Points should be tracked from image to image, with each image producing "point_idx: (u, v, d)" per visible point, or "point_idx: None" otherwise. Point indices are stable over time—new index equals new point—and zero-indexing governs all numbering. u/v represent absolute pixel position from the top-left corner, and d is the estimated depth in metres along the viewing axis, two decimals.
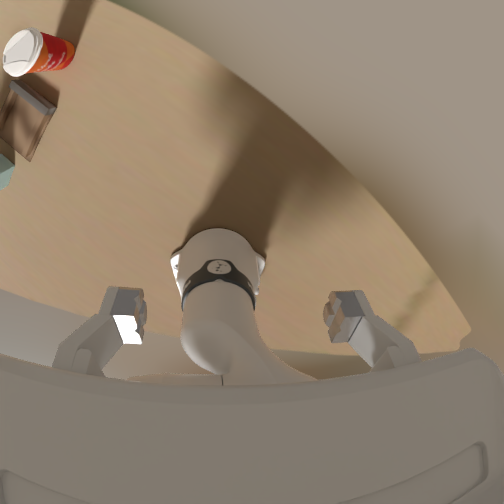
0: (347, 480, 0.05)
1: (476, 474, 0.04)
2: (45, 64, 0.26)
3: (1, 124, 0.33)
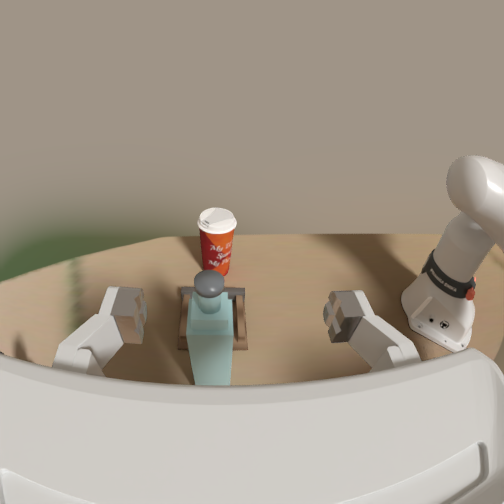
0: (347, 480, 0.05)
1: (476, 474, 0.04)
2: (232, 241, 0.58)
3: None
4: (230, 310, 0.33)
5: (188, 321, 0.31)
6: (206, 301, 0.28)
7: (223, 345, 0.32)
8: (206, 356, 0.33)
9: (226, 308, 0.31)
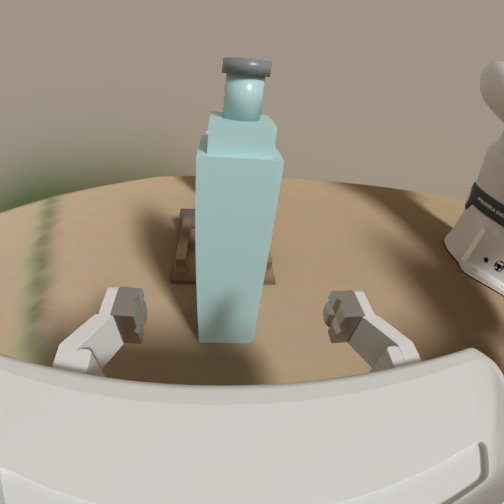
0: (347, 480, 0.05)
1: (476, 474, 0.04)
2: None
3: (186, 254, 0.34)
4: None
5: (201, 148, 0.17)
6: (241, 88, 0.15)
7: (263, 192, 0.18)
8: (227, 227, 0.19)
9: (270, 121, 0.17)
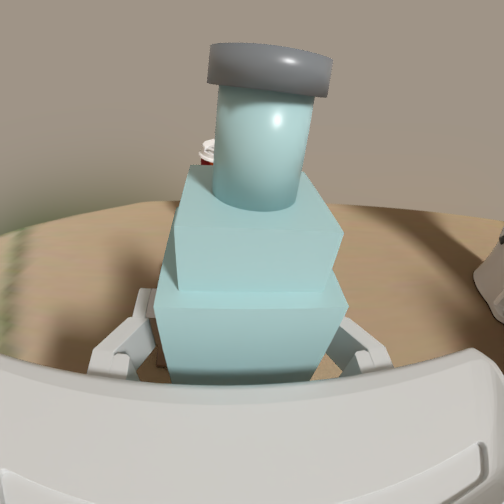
0: (347, 480, 0.05)
1: (476, 474, 0.04)
2: None
3: None
4: None
5: (168, 261, 0.08)
6: (257, 126, 0.06)
7: (297, 352, 0.09)
8: None
9: (319, 201, 0.08)
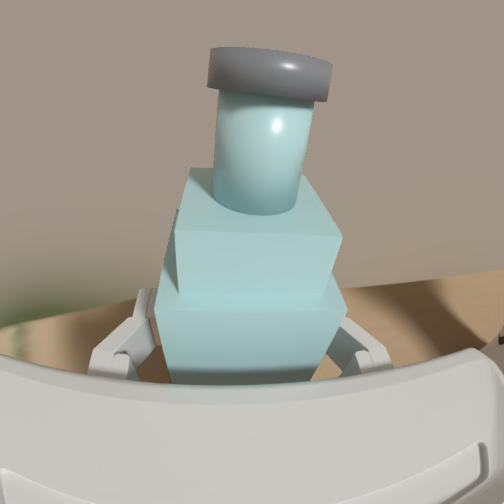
0: (347, 480, 0.05)
1: (476, 474, 0.04)
2: None
3: None
4: None
5: (168, 264, 0.08)
6: (257, 131, 0.06)
7: (296, 354, 0.09)
8: None
9: (318, 204, 0.08)
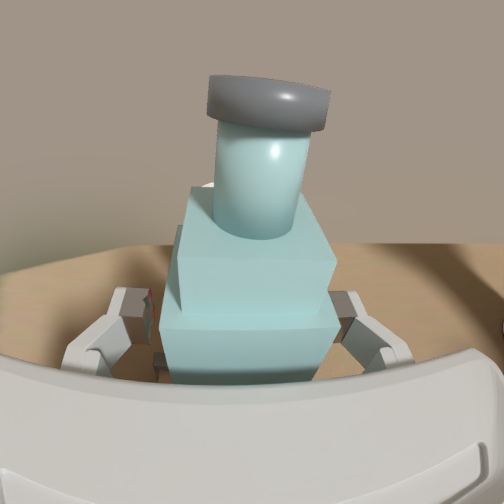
0: (346, 480, 0.05)
1: (476, 474, 0.04)
2: None
3: None
4: None
5: (171, 282, 0.09)
6: (255, 161, 0.06)
7: (293, 366, 0.09)
8: None
9: (315, 226, 0.08)
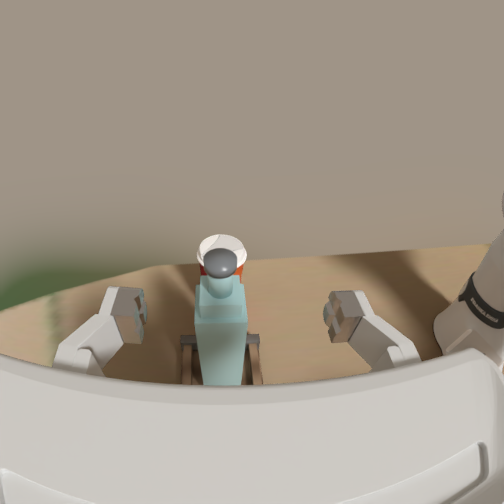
0: (347, 480, 0.05)
1: (476, 474, 0.04)
2: (241, 275, 0.46)
3: None
4: (242, 295, 0.30)
5: (196, 309, 0.28)
6: (217, 283, 0.25)
7: (236, 335, 0.29)
8: (217, 348, 0.30)
9: (239, 292, 0.28)
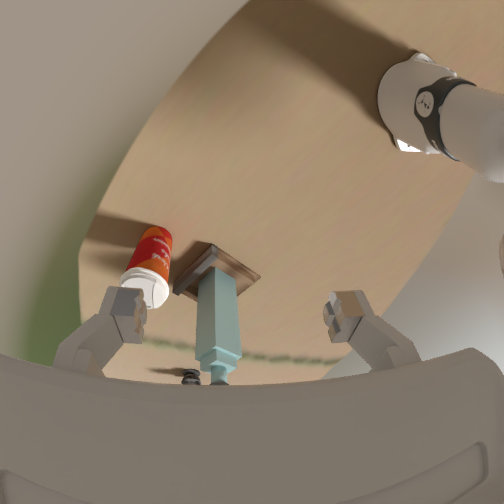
0: (347, 480, 0.05)
1: (476, 474, 0.04)
2: (162, 260, 0.42)
3: None
4: (223, 350, 0.41)
5: None
6: None
7: None
8: None
9: (228, 365, 0.40)
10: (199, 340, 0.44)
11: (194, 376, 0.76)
